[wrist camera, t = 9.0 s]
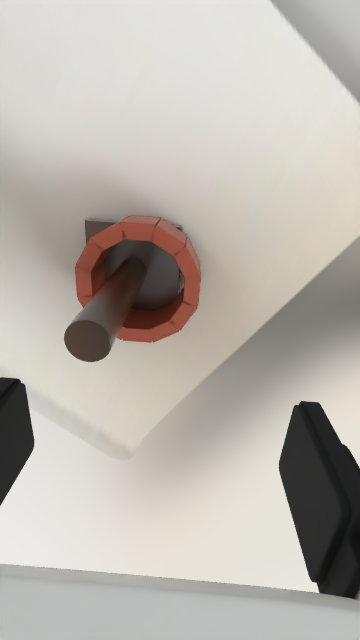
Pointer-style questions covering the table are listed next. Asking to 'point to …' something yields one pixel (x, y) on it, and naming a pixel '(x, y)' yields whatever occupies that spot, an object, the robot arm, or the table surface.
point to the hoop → (166, 237)
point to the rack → (122, 292)
